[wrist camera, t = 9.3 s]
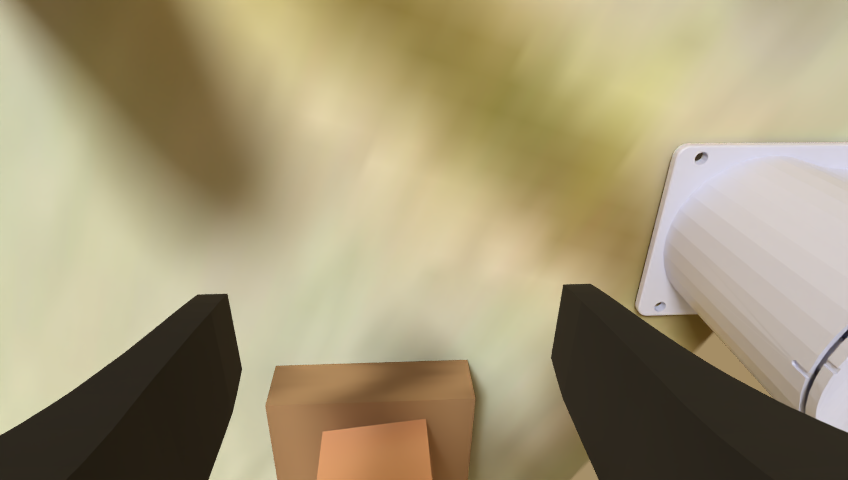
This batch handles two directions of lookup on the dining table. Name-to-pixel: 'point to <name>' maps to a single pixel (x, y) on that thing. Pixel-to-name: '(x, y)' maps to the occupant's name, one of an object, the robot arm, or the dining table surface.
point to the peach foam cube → (377, 452)
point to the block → (370, 409)
